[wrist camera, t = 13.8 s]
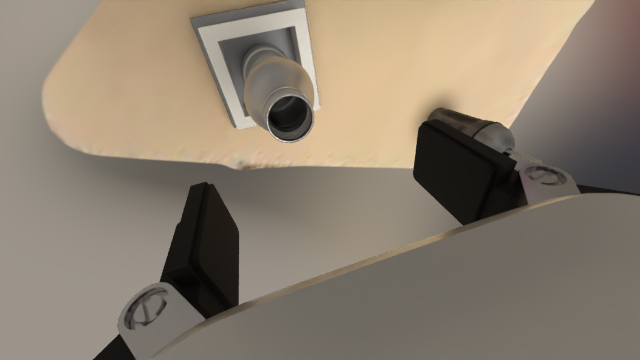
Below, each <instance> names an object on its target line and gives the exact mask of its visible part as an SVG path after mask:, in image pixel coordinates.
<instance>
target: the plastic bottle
mask: <svg viewBox="0 0 640 360" xmlns="http://www.w3.org/2000/svg"><path fill="white" fill-rule="evenodd" d="M241 73H242V78H243V81H244V84H245V87H244V102H245V107H246V109H247V112H248V114H249V115H250V117H251V118H252V120H253V121H254V122H255V123H256V124H257V125H259V126H260V127H262V128H263V129H265V130H267V131H269V132H270V133H271V135H272V136H273V137H274V138H276V139H277V140H279V141H281V142H285V143H293V142H297V141H300V140H301V139H303V138H304V137H305V136H307V134H308V133H309V132H310V130H311V129H312V126H313V123H314V112H313V106H314V87H313V83H312V81H311V78H310V76H309V75H308V73H307V72H306V70H305V69H304V68H303V67H302V66H301V65H299V64H298V63H296V62H295V61H293V60H290V59H288V58H287V56H286V55H285V53H284V52H283V51H282V50H281V49H279V48H278V47H276V46H274V45H271V44H259V45H256V46H254V47H253V48H251V49H250V50H249V51H248V52H247V53H246V55H245V56H244V59H243V61H242V66H241Z"/></svg>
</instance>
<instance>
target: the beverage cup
mask: <svg viewBox="0 0 640 360" xmlns="http://www.w3.org/2000/svg"><path fill="white" fill-rule="evenodd" d="M433 119H439V120H440V121H442V122H444V123H446V124H448V125H450V126H452V127H453V128H455V129H457V130H459V131H461V132H463V133H465V134H467V135H468V136H470V137H472V138H474V139H476V140H478V141H480V142H481V143H483V144H485V145H487V146H489V147H491V148H493V149H495V150H496V151H498V152H500V153H502V154H504V155H506V156H508V157H510V155H511V154H513V155H515V156H518V157H520V158H523V159H526V160H529V161H531V162H534V163H537V164H541V163H542V161H539V160H537V159H534V158H531V157H529V156H526V155H523V154H520V153H517V152H515V151H513V150H514V147H515V140H514V137H513V135H512V133H511V132H510V131H509V129H507V128H506V127H504V126H503V125H502V124H501V123H498V122H493V121H487V120H481V119H478V118H475V117H471V116H468V115H465V114H462V113H459V112H455V111H452V110H449V109H444V108H438V109H436V110H435V111H433V112H432V113H431V115H430V116H429V118H428V121H429V120H433Z"/></svg>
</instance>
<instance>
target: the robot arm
mask: <svg viewBox="0 0 640 360" xmlns="http://www.w3.org/2000/svg"><path fill="white" fill-rule="evenodd" d="M516 163H517V162H516V161H515V160H513V159H511V158H510V157H508V156H506V155H504V154H502V153H500V152H498V151H496V150H495V149H493V148H491V147H489V146H487V145H485V144H483V143H481V142H480V141H478V140H476V139H474V138H472V137H470V136H468V135H467V134H465V133H463V132H461V131H459V130H457V129H455V128H453V127H452V126H450V125H448V124H446V123H444V122H442V121H440V120H439V119H433V120H429V121H425V122H423V123H422V125H421V126H420V127H419V130H418V137H417V145H416V154H415V162H414V170H413V175H414V178H415V180H416V181H417V182H418V183H419V184H420V185H421V186H422V187H423V188H424V189H426V190H427V191H428V192H429V193H430V194H431V195H432V196H433V197H434V198H435V199H436V200H437V201H438V202H439V203H440V204H441V205H442V206H443V207H444V208H445V209H447V210H448V211H449V212H450V213H451V214H452V215H453V216H454V217H455V218H456V219H457V220H458V221H459V222H460V223H461V224H462V225H463V226H462V227H459V228H456V229H453V230H450V231H447V232H444V233H441V234H438V235H435V236H432V237H430V238H426V239H423V240H420V241H418V242H415V243H412V244H409V245H406V246H403V247H401V248H397V249H394V250H392V251H389V252H386V253H383V254H380V255H377V256H374V257H371V258H368V259H366V260H363V261H360V262H357V263H354V264H351V265H348V266H346V267H343V268H340V269H337V270H334V271H331V272H329V273H326V274H323V275H320V276H317V277H315V278H312V279H309V280H306V281H303V282H300V283H297V284H294V285H292V286H289V287H286V288H283V289H281V290H278V291H275V292H273V293H270V294H267V295H264V296H262V297H259V298H256V299H254V300H251V301H248V302H245V303H243V304H241V305H238V303H239V290H238V289H239V231H238V228H237V226H236V224H235V222H234V220H233V218H232V217H231V215H230V213H229V211H228V209H227V208H226V206H225V205H224V202H223V200H222V199H221V197H220V195H219V193H218V192H217V190H216V188H215V186H214V185H213V184H210V185H209V184H208V183H207V182H203V183H200V184H196V185H193V186H191V187H190V190H189V194H188V197H187V200H186V204H185V207H184V211H183V214H182V218H181V221H180V223H178V224H177V226H176V229H175V233H174V236H173V239H172V242H171V246H170V250H169V252H168V256H167V259H166V262H165V266H164V269H163V272H162V276H161V279H160V282H159V283H155V284H152V285H150V286H148V287H146V288H144V289H143V290H141V291H140V292H139V293H137V294H136V295H135V296H134V297H133V298H132V299H131V300H130V301H129V302H128V303H127V305H126V306H125V307H124V309H123V310H122V312H121V314H120V316H119V319H118V325H117V326H118V330H119V333H120V334H119V335H118V336H117V337H116V338H115V339H114V340H113V341H112V342H111V343H110V344H108V345H107V347H105V348H104V349H103V350H102V352H100V353H99V354H98V355H97V356H96V357H95V358H94V359H93V360H640V194H635V193H630V192H623V191H616V190H610V189H603V188H597V187H590V186H584V185H577V184H575V182H574V180H573V179H572V177H571V176H570V175H569V174H568V173H566V172H564V171H563V170H561V169H559V168H556V167H553V166H549V165H544V164H527V165H524V166H522V167H521V168H520V169H519V171H516V170H514V168H515V166H516Z"/></svg>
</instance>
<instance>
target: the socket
mask: <svg viewBox="0 0 640 360" xmlns="http://www.w3.org/2000/svg"><path fill="white" fill-rule="evenodd" d="M190 21H191V23H192V26H193V28H194V30H195V33H196V35H197V38H198V40H199V43H200V45H201V48H202V50H203V53H204V55H205V58H206V60H207V63H208V65H209V68H210V70H211V72H212V75H213V77H214V80H215V82H216V85H217V87H218V90H219V92H220V95H221V97H222V100H223V102H224V105H225V107H226V109H227V112H228V114H229V117H230V119H231V122H232V124H233V127H234V128H235V127H237V129H238V130H241V129H245V128H249V127H253V126H257V124H256V123H255V122H254V121H253V120H252V118H251V117H250V115H249V114H248V112H247V109H246V107H245V102H244V87H245V84H244V81H243V78H242V73H241V66H242V61H243V59H244V56H245V55H246V53H247V52H248V51H249V50H250V49H251V48H253V47H254V46H256V45H259V44H271V45H274V46H276V47H278V48H279V49H281V50H282V51H283V52H284V53H285V55H286V56H287V58H288V59H290V60H293V61H295V62H296V63H298V64H299V65H301V66H302V67H303V68H304V69H305V70H306V72H307V73H308V75H309V76H310V78H311V81H312V83H313V87H314V106H313V111H316V110H319V109H320V101H319V94H318V88H317V81H316V75H315V68H314V61H313V55H312V48H311V41H310V35H309V28H308V22H307V15H306V8H305V2H304V0H286V1H281V2H276V3H270V4H265V5H259V6H254V7H249V8H243V9H238V10H232V11H227V12H222V13H216V14H211V15H205V16H200V17H195V18H190Z"/></svg>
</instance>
